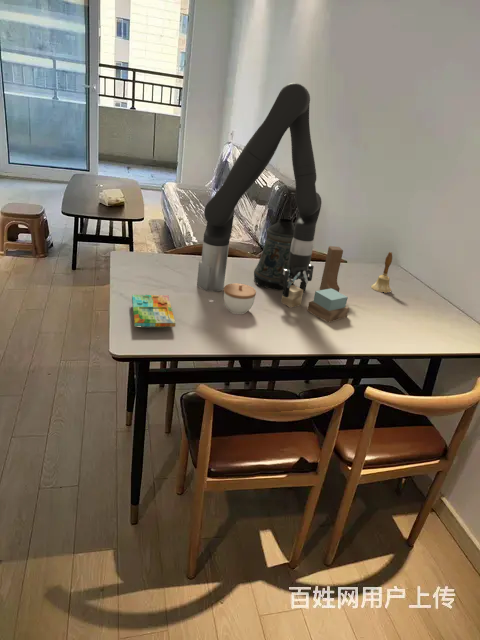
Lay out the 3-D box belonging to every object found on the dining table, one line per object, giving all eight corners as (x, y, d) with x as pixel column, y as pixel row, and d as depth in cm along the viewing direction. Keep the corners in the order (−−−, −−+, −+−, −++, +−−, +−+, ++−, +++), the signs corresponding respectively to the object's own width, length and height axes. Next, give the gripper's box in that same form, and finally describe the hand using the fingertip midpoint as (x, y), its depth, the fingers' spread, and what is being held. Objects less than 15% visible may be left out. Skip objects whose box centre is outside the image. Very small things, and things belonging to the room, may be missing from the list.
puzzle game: (168, 292, 156) (175, 320, 139) (167, 305, 158) (174, 334, 141) (132, 291, 153) (134, 320, 136) (131, 305, 155) (134, 334, 138)
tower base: (328, 323, 162) (330, 313, 160) (306, 312, 168) (309, 301, 166) (346, 318, 168) (349, 307, 166) (325, 307, 174) (327, 297, 173)
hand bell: (384, 294, 192) (394, 257, 185) (367, 287, 198) (376, 250, 191) (395, 291, 198) (405, 254, 191) (378, 283, 203) (388, 248, 196)
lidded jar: (237, 301, 168) (240, 276, 164) (259, 313, 161) (263, 287, 157) (214, 307, 160) (217, 282, 156) (236, 320, 154) (240, 293, 150)
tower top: (329, 311, 161) (331, 300, 160) (313, 301, 167) (315, 291, 165) (345, 307, 166) (347, 297, 164) (329, 298, 172) (331, 288, 170)
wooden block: (337, 299, 181) (348, 254, 173) (326, 298, 180) (336, 253, 173) (329, 289, 189) (339, 246, 181) (319, 289, 188) (328, 245, 180)
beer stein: (247, 283, 184) (256, 220, 173) (262, 269, 201) (271, 210, 190) (287, 293, 180) (299, 229, 169) (300, 278, 197) (311, 219, 186)
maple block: (290, 307, 169) (293, 292, 166) (281, 302, 172) (283, 287, 169) (300, 305, 172) (303, 290, 169) (290, 299, 175) (293, 284, 172)
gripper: (307, 245, 170) (299, 287, 177) (278, 250, 161) (272, 294, 168) (322, 252, 165) (314, 294, 172) (294, 257, 156) (287, 301, 163)
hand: (293, 294), depth 170 cm, fingers open, 8 cm apart
